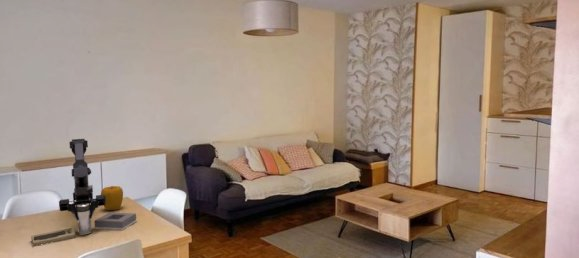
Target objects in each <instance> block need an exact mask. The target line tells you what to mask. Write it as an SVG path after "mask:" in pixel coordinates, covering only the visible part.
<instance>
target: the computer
mask: <svg viewBox="0 0 579 258" xmlns="http://www.w3.org/2000/svg"><path fill="white" fill-rule="evenodd" d="M74 231H75V230H74V229H73V227H70V228H64V229H59V230H54V231H53V230H52V231H50V232H43V233H39V234H33V235H31V236H30V237H31V238H30V239H31V244H32V247H37V246H36V245H38V246H42V245H41V244H43V245H47V244H46V243H48V244H52V243H51V242H53V243H57V242H61V241H67V240H71V239H75V238H76V234H75V232H74Z"/></svg>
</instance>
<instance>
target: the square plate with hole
mask: <svg viewBox="0 0 579 258" xmlns="http://www.w3.org/2000/svg"><path fill="white" fill-rule="evenodd" d="M93 222H94V229H95V230H111V231H116V230H117V231H123V230H124V231H125V230H126V229H127V228H129V227H131V226H132V225H134V224H135V223H136V222H137V213H133V212H132V213H128V212H108V213H106V214H104V215H102V216H100V217H98V218H95V219H94V221H93Z"/></svg>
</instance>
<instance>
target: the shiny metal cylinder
mask: <svg viewBox="0 0 579 258" xmlns="http://www.w3.org/2000/svg"><path fill="white" fill-rule="evenodd" d="M77 216H78V221H77V228H78V235H81V236H83V235H88V234H91V233H92V222H91V219H90V204H89V203H80V204H77Z"/></svg>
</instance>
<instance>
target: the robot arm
mask: <svg viewBox="0 0 579 258" xmlns="http://www.w3.org/2000/svg"><path fill="white" fill-rule="evenodd" d="M88 143H89V142H88V140H85V138H77V139H76V138H75V139H74V138H72V139H71V141H69V143H68V144H69V149H71V153H72V154H73V155H74V160H75V162H73V164H72V169H71V177H73V180H74V188H73V190H74V191H73V192H72V198H73V199H72V200H70V199H69V198H65V199H60V200H59V201H58V205H59V212H64V211H66V212H67V211H68V212H70V213H71V214H72V215H73V216H74V218H75V220H76V221H77V222H78V216H77V204H80V203H89V204H90V220H91V219H92V217H93V215H94V212H95V210H96V209H98V208H99V207H103V206H104V205H106V198H105V195H101V194H99V195H95V198H93V197H94V196H93V195H94V194H93V193H94V188H93V185H92V184H91V185H89V176H91V174H92V170H91V168H90V167H88V166H89V165H88V162H87V161H85V154H86V153H87V148H88V147H89V146H88Z"/></svg>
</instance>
